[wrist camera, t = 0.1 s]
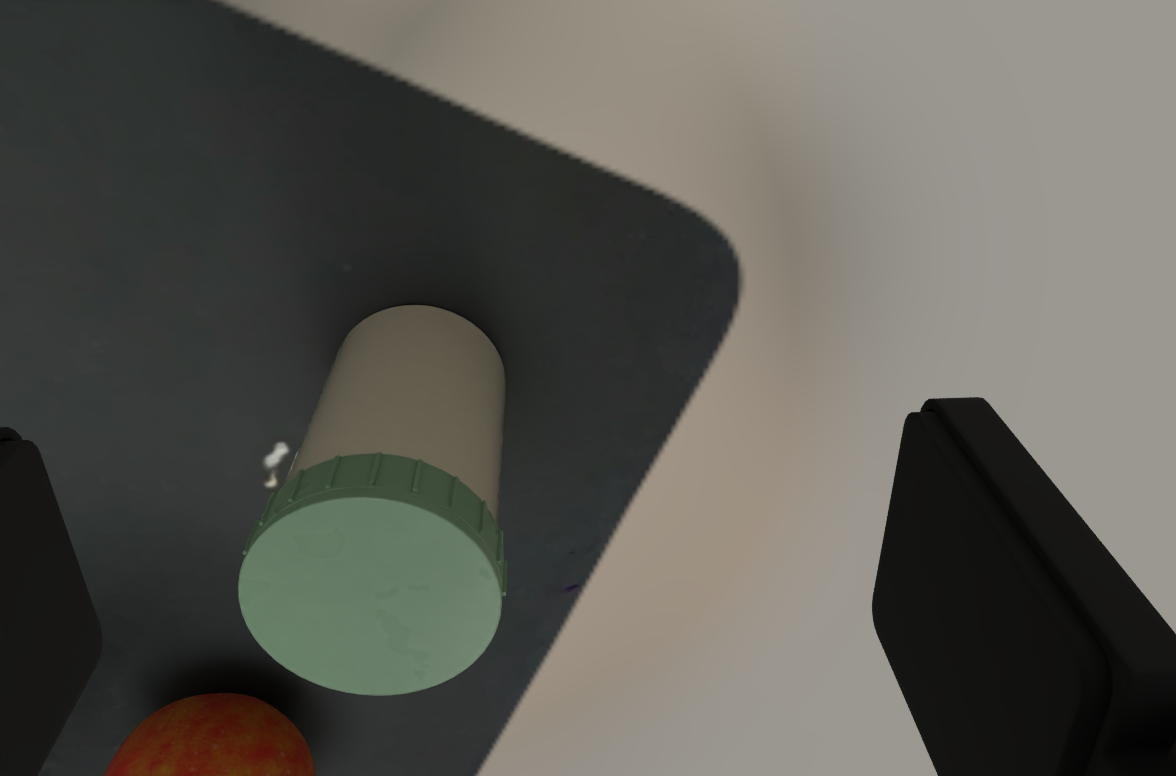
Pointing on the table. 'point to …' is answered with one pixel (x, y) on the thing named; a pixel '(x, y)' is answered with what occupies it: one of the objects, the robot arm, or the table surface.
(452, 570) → the lid
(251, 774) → the fruit
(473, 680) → the table surface
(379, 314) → the jar
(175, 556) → the table surface
